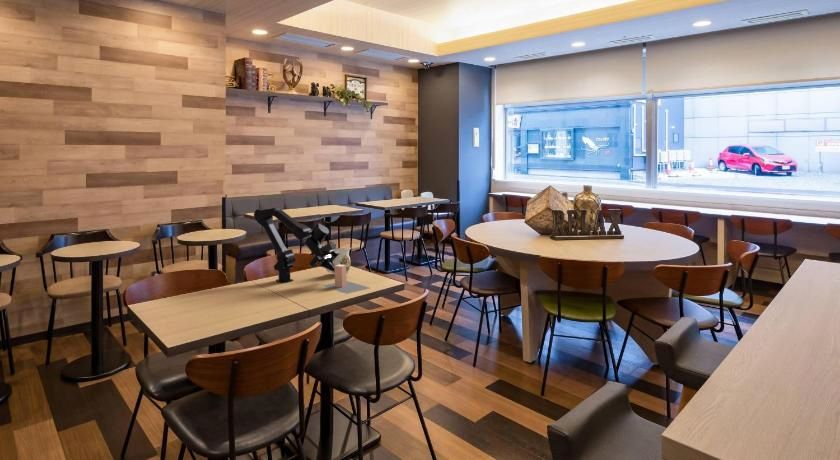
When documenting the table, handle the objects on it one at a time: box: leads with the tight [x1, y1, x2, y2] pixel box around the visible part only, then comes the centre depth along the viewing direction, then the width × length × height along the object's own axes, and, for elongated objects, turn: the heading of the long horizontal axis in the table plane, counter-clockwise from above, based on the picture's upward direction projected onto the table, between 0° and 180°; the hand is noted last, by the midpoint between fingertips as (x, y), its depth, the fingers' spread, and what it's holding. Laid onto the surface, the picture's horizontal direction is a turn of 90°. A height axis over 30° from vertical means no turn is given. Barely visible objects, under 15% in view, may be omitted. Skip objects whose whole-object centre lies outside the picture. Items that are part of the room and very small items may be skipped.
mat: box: [322, 280, 370, 295], centre depth 241 cm, size 20×14×1 cm
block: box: [334, 264, 348, 287], centre depth 242 cm, size 4×4×10 cm
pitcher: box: [325, 246, 352, 277], centre depth 265 cm, size 11×18×14 cm, turn 142°
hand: (336, 271), depth 243 cm, fingers closed
